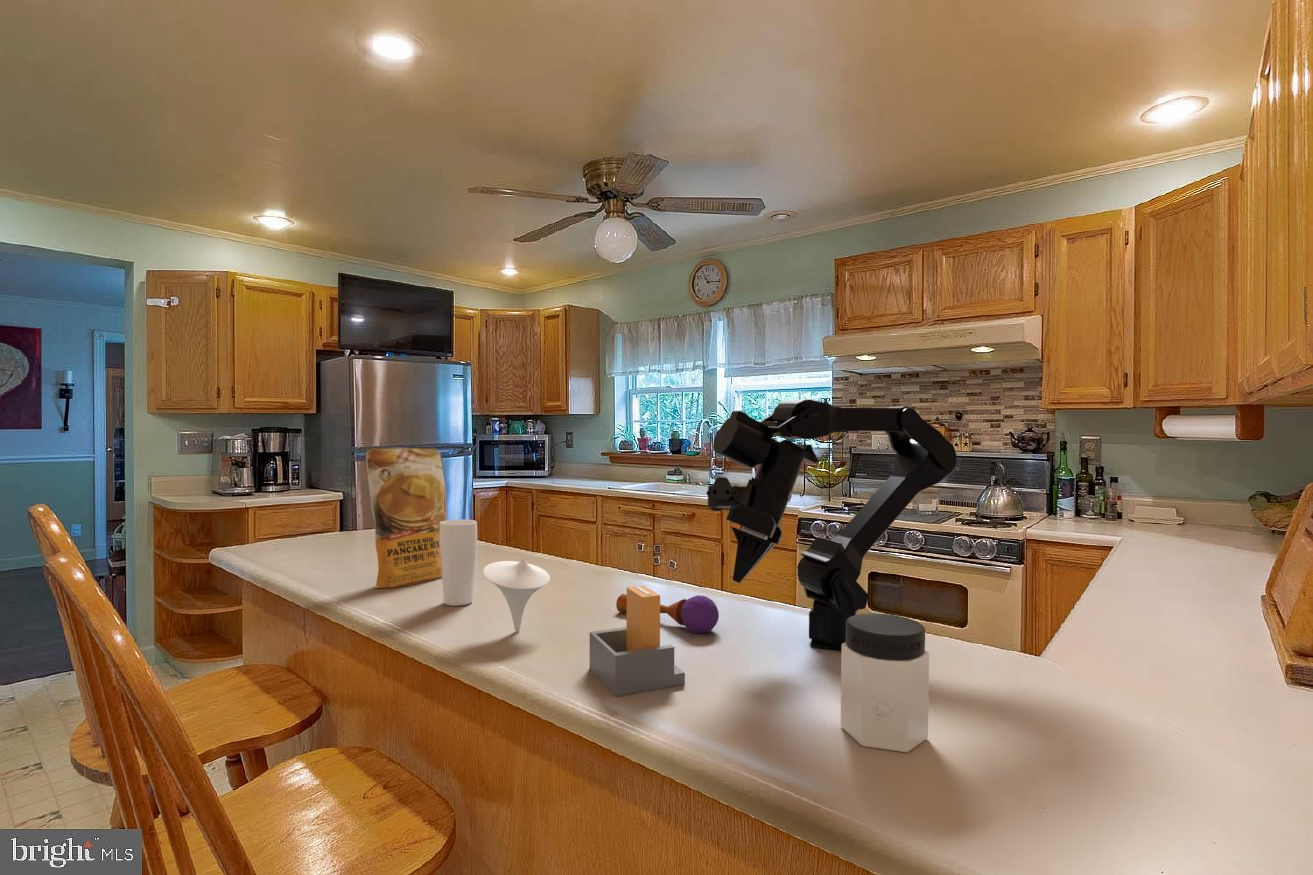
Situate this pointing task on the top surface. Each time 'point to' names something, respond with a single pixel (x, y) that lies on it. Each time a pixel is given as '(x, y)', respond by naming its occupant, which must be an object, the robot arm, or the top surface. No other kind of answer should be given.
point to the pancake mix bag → (406, 513)
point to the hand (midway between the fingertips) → (736, 581)
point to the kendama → (686, 612)
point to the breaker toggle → (642, 618)
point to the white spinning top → (516, 584)
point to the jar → (885, 682)
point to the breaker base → (631, 664)
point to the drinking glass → (458, 560)
